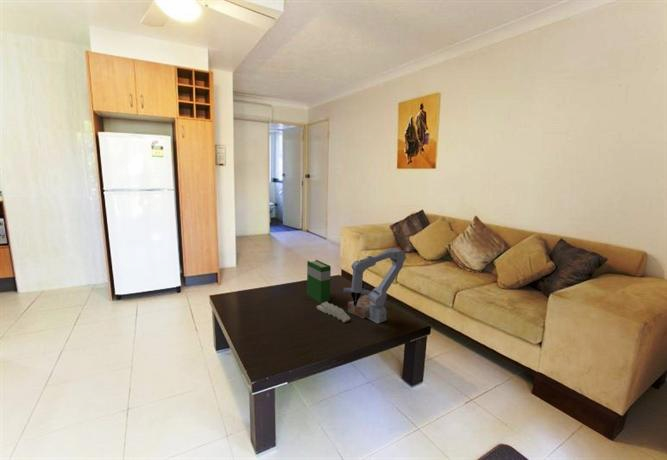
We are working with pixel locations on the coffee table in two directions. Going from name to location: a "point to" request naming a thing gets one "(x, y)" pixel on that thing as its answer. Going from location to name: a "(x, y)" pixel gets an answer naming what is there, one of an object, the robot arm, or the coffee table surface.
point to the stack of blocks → (360, 307)
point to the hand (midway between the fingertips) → (355, 305)
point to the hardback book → (318, 281)
